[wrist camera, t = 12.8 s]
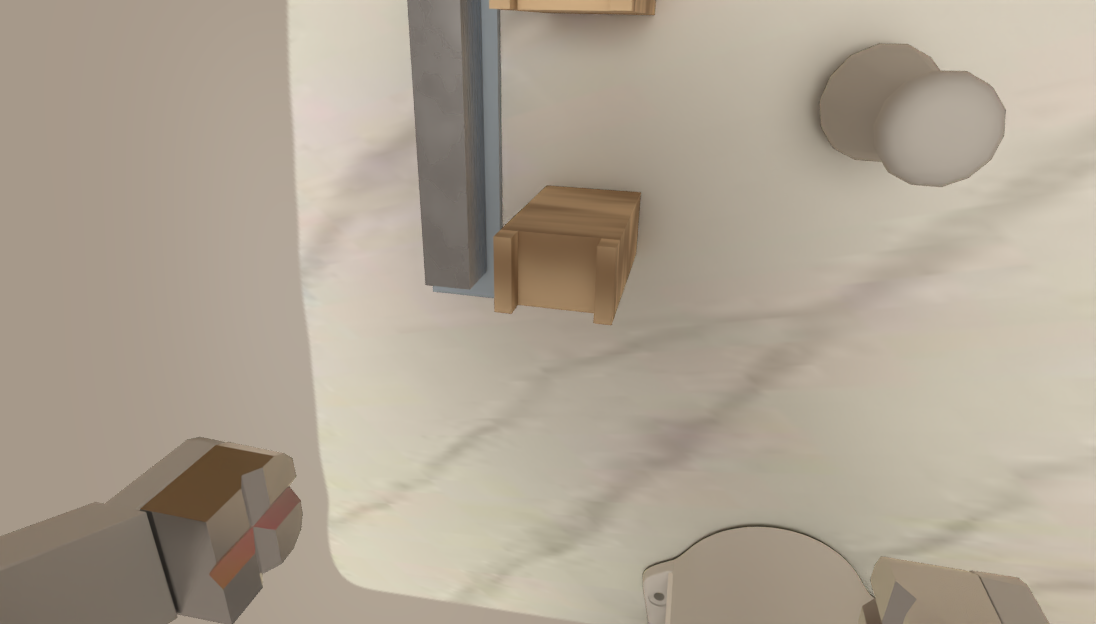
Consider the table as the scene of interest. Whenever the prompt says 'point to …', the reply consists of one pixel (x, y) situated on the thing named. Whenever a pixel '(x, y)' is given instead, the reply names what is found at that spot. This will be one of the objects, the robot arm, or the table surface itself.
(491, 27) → the grey flat bar
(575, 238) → the stand far
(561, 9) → the stand near
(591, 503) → the table surface
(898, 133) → the salt shaker
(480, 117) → the bar
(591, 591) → the table surface
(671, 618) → the robot arm
